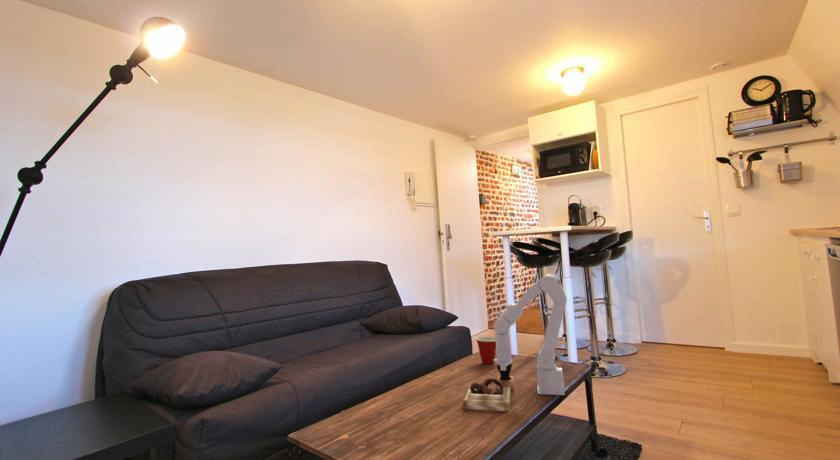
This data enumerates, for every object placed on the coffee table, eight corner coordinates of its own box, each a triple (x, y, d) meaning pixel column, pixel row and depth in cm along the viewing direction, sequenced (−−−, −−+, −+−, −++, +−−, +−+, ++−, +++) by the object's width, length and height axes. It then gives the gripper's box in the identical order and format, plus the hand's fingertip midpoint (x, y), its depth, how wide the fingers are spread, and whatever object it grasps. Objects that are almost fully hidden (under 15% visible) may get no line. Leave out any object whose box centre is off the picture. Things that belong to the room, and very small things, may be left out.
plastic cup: (504, 363, 185) (503, 337, 186) (487, 367, 180) (485, 341, 180) (489, 358, 195) (488, 334, 195) (472, 362, 189) (471, 337, 190)
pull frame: (514, 385, 155) (513, 374, 156) (511, 408, 133) (510, 396, 133) (477, 383, 159) (476, 373, 160) (468, 406, 137) (468, 394, 137)
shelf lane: (510, 393, 147) (510, 385, 148) (508, 411, 132) (508, 402, 132) (470, 391, 152) (469, 383, 152) (463, 408, 136) (463, 400, 136)
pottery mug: (497, 393, 149) (503, 377, 145) (501, 414, 140) (507, 397, 137) (466, 388, 149) (471, 372, 145) (468, 408, 140) (473, 391, 137)
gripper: (494, 343, 162) (496, 376, 162) (491, 353, 148) (493, 389, 148) (512, 344, 160) (514, 377, 160) (510, 353, 146) (512, 390, 146)
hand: (505, 383), depth 154 cm, fingers closed
